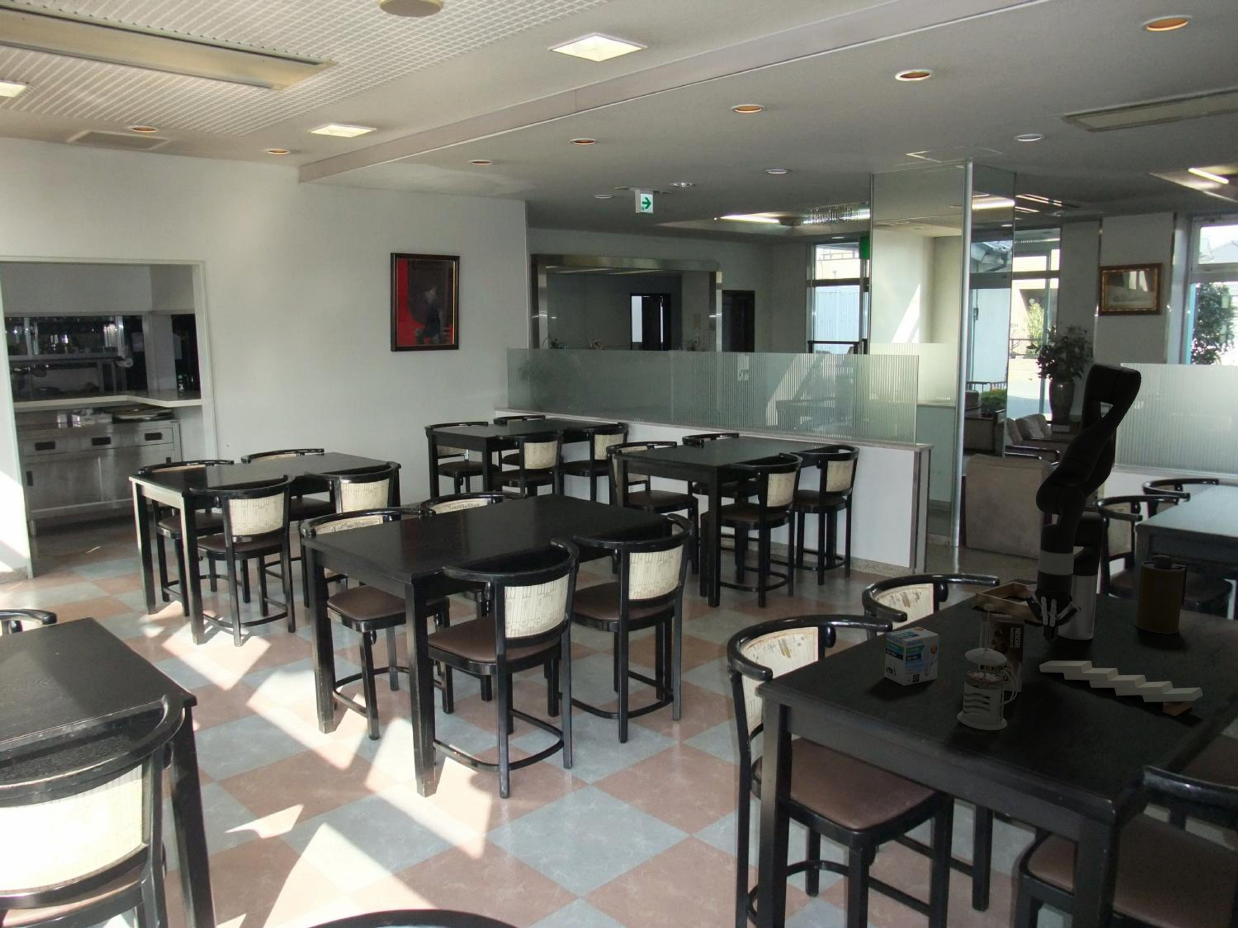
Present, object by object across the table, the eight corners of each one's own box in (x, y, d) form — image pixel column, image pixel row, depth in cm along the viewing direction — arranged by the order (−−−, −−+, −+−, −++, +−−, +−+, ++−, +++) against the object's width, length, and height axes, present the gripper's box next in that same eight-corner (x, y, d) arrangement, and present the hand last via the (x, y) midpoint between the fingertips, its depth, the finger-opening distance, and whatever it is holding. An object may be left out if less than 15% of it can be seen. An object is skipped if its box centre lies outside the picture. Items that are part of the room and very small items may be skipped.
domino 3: (1089, 680, 211) (1134, 680, 203) (1099, 675, 214) (1144, 674, 206) (1091, 687, 211) (1135, 687, 203) (1101, 682, 214) (1146, 682, 206)
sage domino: (1142, 694, 202) (1190, 693, 194) (1152, 689, 205) (1200, 687, 197) (1144, 701, 202) (1192, 700, 194) (1154, 696, 205) (1202, 694, 197)
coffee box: (1019, 682, 213) (1023, 615, 211) (1021, 693, 207) (1026, 623, 205) (976, 677, 216) (980, 611, 214) (977, 687, 210) (982, 619, 208)
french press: (971, 706, 200) (978, 594, 196) (1024, 723, 192) (1032, 606, 188) (947, 718, 194) (954, 603, 190) (1001, 737, 185) (1009, 616, 181)
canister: (1142, 632, 248) (1148, 559, 245) (1129, 620, 258) (1136, 550, 255) (1187, 635, 246) (1194, 562, 243) (1173, 623, 256) (1179, 552, 253)
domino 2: (1063, 672, 215) (1106, 673, 208) (1074, 667, 218) (1117, 668, 210) (1064, 679, 215) (1108, 680, 207) (1075, 674, 218) (1118, 675, 210)
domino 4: (1114, 688, 206) (1160, 686, 198) (1124, 682, 209) (1171, 681, 201) (1116, 695, 206) (1162, 694, 198) (1126, 690, 209) (1173, 688, 201)
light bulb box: (904, 686, 211) (906, 641, 209) (883, 676, 217) (885, 632, 215) (938, 678, 216) (940, 634, 214) (916, 669, 222) (919, 625, 220)
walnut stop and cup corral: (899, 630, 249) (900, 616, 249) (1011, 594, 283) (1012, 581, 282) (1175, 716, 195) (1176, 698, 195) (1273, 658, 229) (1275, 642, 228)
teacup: (1020, 600, 277) (1022, 580, 276) (1065, 607, 271) (1066, 586, 270) (1014, 611, 267) (1016, 590, 266) (1060, 618, 261) (1062, 596, 260)
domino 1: (1039, 665, 220) (1080, 665, 212) (1050, 660, 223) (1091, 660, 215) (1040, 671, 220) (1082, 672, 212) (1051, 667, 223) (1092, 667, 215)
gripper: (1091, 572, 214) (1085, 644, 217) (1036, 560, 225) (1031, 629, 227) (1075, 577, 210) (1069, 651, 212) (1020, 565, 220) (1015, 635, 223)
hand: (1050, 639), depth 220 cm, fingers closed
